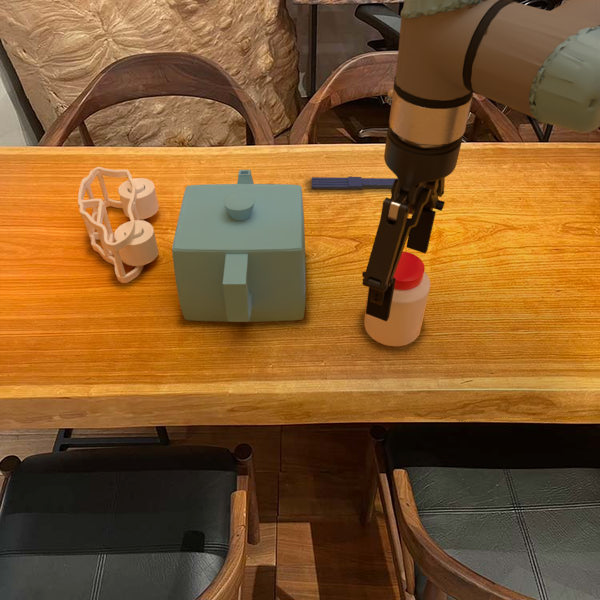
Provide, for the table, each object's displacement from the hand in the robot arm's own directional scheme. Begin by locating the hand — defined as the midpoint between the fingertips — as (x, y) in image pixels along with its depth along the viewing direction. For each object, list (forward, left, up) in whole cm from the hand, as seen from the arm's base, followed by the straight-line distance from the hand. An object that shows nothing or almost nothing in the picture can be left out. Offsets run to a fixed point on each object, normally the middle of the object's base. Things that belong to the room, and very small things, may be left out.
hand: (398, 280), depth 74 cm
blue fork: (+15, -29, -8) cm, 34 cm away
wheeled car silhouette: (+44, +3, -9) cm, 45 cm away
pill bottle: (0, 0, -9) cm, 9 cm away
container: (+22, +2, -9) cm, 23 cm away
